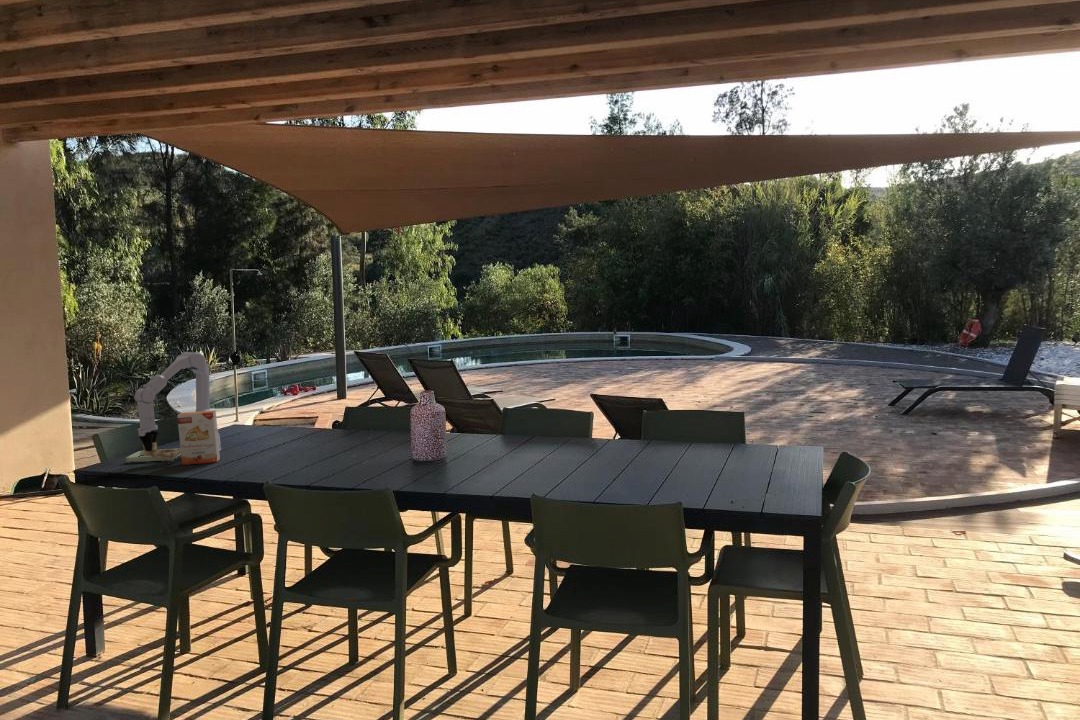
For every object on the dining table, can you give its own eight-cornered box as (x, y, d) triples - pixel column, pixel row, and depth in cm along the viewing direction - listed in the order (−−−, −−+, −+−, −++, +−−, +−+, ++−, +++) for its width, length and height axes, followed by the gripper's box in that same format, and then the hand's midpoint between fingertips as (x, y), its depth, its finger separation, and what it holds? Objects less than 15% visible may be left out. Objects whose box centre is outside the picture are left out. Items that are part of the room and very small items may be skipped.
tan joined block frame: (182, 452, 365) (181, 440, 364) (174, 457, 356) (173, 445, 355) (149, 452, 364) (148, 441, 364) (140, 457, 355) (139, 445, 355)
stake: (174, 462, 363) (173, 451, 362) (170, 464, 358) (169, 453, 358) (170, 462, 363) (168, 451, 362) (166, 464, 358) (164, 453, 358)
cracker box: (181, 465, 355) (176, 414, 353) (185, 462, 361) (180, 412, 359) (217, 462, 357) (212, 411, 355) (220, 459, 363) (215, 409, 361)
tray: (184, 453, 380) (183, 448, 379) (172, 460, 366) (171, 454, 366) (139, 456, 379) (139, 450, 379) (126, 463, 365) (125, 457, 365)
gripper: (144, 415, 365) (147, 447, 367) (129, 421, 351) (133, 454, 352) (161, 414, 365) (164, 446, 367) (147, 420, 351) (150, 453, 352)
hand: (150, 450), depth 360 cm, fingers closed on tan joined block frame, 2 cm apart
